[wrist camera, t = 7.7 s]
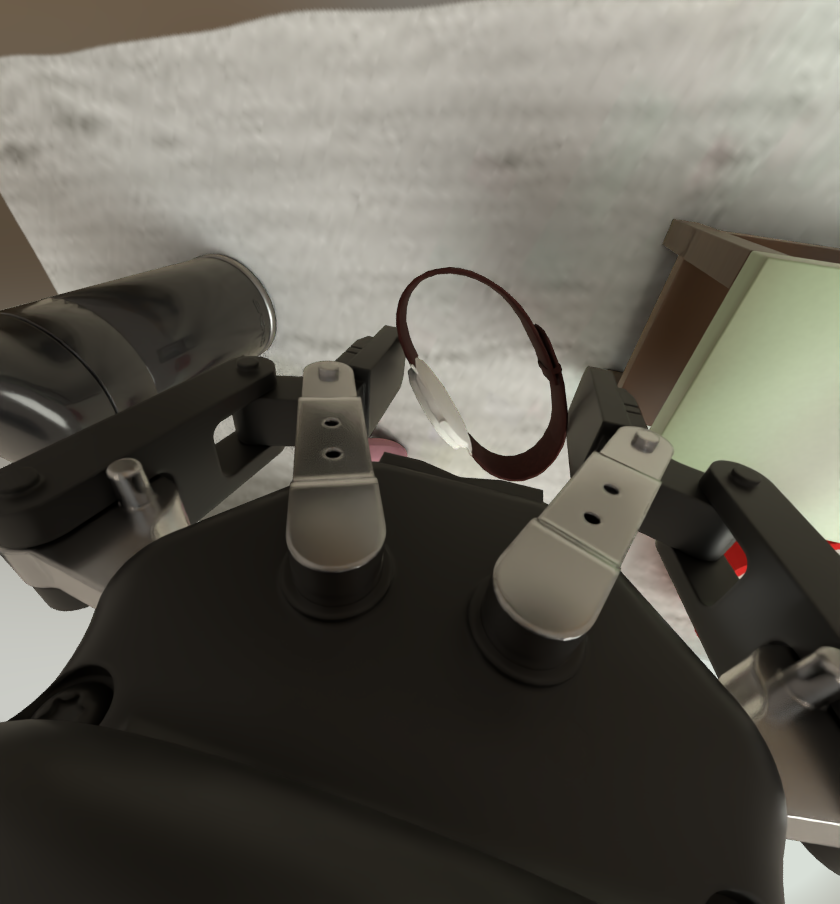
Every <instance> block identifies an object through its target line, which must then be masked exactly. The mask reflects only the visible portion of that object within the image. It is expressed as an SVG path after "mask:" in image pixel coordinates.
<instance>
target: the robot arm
mask: <svg viewBox="0 0 840 904" xmlns="http://www.w3.org/2000/svg"><path fill="white" fill-rule="evenodd" d="M275 332H276V318H275V313H274V309H273V306H272V303H271V300H270V298H269V296H268V294H267V292H266V290H265V289H264V287H263V286H262V284H261V283H260V282H259V280H258V279H257V278H256V277H255V276H254V275H253V274H252V273H251V272H250V271H249V270H248V269H247V268H246V267H244V266H243V265H242V264H240V263H239V262H237V261H235V260H233V259H231V258H229V257H226V256H223V255H218V254H207V255H203V256H199V257H196V258H194V259H192V260H189V261H185V262H181V263H178V264H173V265H169V266H166V267H162V268H158V269H154V270H150V271H147V272H143V273H139V274H135V275H131V276H128V277H124V278H120V279H116V280H112V281H109V282H105V283H101V284H97V285H94V286H90V287H86V288H82V289H78V290H75V291H71V292H67V293H63V294H59V295H56V296H52V297H49V298H44V299H41V300H38V301H34V302H30V303H27V304H23V305H19V306H15V307H11V308H7V309H4V310H0V457H1V458H4V459H6V460H8V461H10V462H12V463H11V464H9V465H8V466H5V467H3V468H1V469H0V555H1V556H2V557H3V558H4V559H5V561H6V562H7V563H8V564H9V565H10V566H11V567H12V568H13V570H14V571H15V572H16V573H17V574H18V575H19V576H20V577H21V579H22V580H23V581H24V582H25V583H26V584H28V585H30V586H32V587H33V588H34V589H35V590H36V592H37V593H38V594H39V595H40V596H41V597H42V598H43V600H44V601H45V602H46V603H47V604H48V605H49V606H50V607H51V608H53V609H56V610H59V611H73V610H79V609H82V608H86V607H88V606H91V607H92V608H95V611H94V614H93V617H92V619H91V622H90V624H89V627H88V629H87V631H86V633H85V635H84V637H83V639H82V641H81V642H80V644H79V646H78V647H77V649H76V651H75V653H74V654H73V656H72V658H71V659H70V660H69V662H68V663H67V665H66V666H65V668H64V669H63V670H62V672H61V673H60V675H59V676H58V677H57V678H56V680H55V681H54V682H53V683H52V684H51V686H49V687H48V689H47V690H46V691H44V692H43V693H42V694H41V695H40V696H39V697H38V698H37V699H36V700H35V701H34V702H32V703H31V704H30V705H29V706H27V707H26V708H25V709H24V710H22V711H21V712H20V713H18V714H17V715H16V716H14V717H13V718H11V719H9V720H8V721H6V722H1V723H0V904H785V901H784V888H783V855H784V849H785V841H786V839H789V840H796V841H800V842H801V843H802V844H803V845H804V846H805V847H806V849H807V850H808V851H809V852H810V853H811V854H812V855H813V856H814V857H815V858H816V859H817V860H819V861H820V862H821V863H822V864H824V865H825V866H826V867H827V868H828V869H830V870H831V871H833V872H834V873H836V874H838V875H840V555H839V554H838V553H837V552H836V551H835V550H834V548H833V547H832V546H831V545H830V544H829V543H828V542H827V541H826V540H825V539H824V538H823V537H822V536H821V534H820V533H819V532H818V531H817V530H816V529H815V528H814V527H813V526H812V525H811V524H810V523H809V522H808V520H807V519H806V518H805V517H804V516H803V515H802V514H801V513H800V512H799V511H798V510H797V509H796V508H795V506H794V505H793V504H792V503H791V502H790V501H789V500H788V499H787V498H786V497H785V496H784V495H783V494H782V492H781V491H780V490H779V489H778V488H777V487H776V486H775V485H774V484H773V483H772V482H771V481H770V480H769V479H768V478H766V477H765V476H764V475H762V474H761V473H759V472H757V471H755V470H754V469H752V468H750V467H747V466H745V465H742V464H739V463H736V462H732V461H726V460H718V461H714V462H713V463H712V464H711V465H710V466H709V468H708V469H707V470H706V472H702V471H699V470H697V469H694V468H692V467H689V466H687V465H684V464H682V463H679V462H677V461H675V460H673V459H672V456H673V454H674V448H673V446H672V444H671V443H670V442H669V441H668V440H667V439H665V438H664V437H662V436H661V435H659V434H657V433H655V432H653V431H651V430H648V429H647V427H646V424H645V422H644V419H643V417H642V415H641V412H640V410H639V408H638V405H637V402H636V400H635V398H634V397H633V396H632V395H631V394H630V393H629V392H628V391H627V390H626V389H623V388H618V385H617V382H616V380H615V377H614V374H613V372H612V371H610V370H605V369H600V368H595V367H590V366H588V367H587V368H586V369H585V371H584V373H583V376H582V378H581V381H580V383H579V386H578V388H577V391H576V393H575V396H574V398H573V400H572V403H571V405H570V408H569V411H568V424H567V431H566V437H567V447H568V457H569V467H570V477H571V479H570V480H569V481H568V483H567V484H566V485H565V486H564V487H563V488H562V490H561V491H560V492H559V493H558V494H557V496H556V497H555V498H554V499H553V500H552V502H551V503H550V504H549V505H548V504H546V503H544V502H543V490H540V489H536V488H532V487H528V486H524V485H519V484H515V483H511V482H507V481H503V480H491V479H477V478H464V477H458V476H456V475H453V474H451V473H449V472H447V471H444V470H442V469H440V468H437V467H435V466H433V465H431V464H428V463H426V462H424V461H421V460H417V459H413V458H409V457H405V456H401V455H396V454H392V453H388V452H384V453H383V455H382V457H381V459H380V461H372V460H371V454H370V448H369V442H368V438H369V436H370V435H371V433H372V432H373V430H374V429H375V427H376V425H377V424H378V422H379V421H380V419H381V418H382V416H383V414H384V413H385V411H386V410H387V408H388V406H389V405H390V403H391V402H392V400H393V399H394V397H395V395H396V394H397V392H398V391H399V389H400V387H401V384H402V380H403V375H404V366H405V355H404V352H403V350H402V347H401V345H400V342H399V339H398V333H397V327H392V326H387V325H385V326H384V327H383V328H382V329H381V330H380V331H379V332H378V333H377V334H376V335H375V336H374V337H371V336H367V337H364V338H361V339H359V340H357V341H356V342H355V343H353V344H352V345H351V347H349V348H348V349H347V350H346V352H344V353H343V354H342V355H341V356H340V357H339V358H338V359H336V360H335V361H319V362H315V363H312V364H309V365H308V366H306V367H305V368H304V371H303V376H301V377H298V376H276V370H275V364H274V363H273V362H272V361H271V360H269V359H267V358H263V357H258V356H259V355H261V354H262V353H264V352H265V351H266V350H267V349H268V348H269V347H270V345H271V344H272V342H273V340H274V337H275ZM231 415H232V416H233V420H234V425H235V429H236V431H234V432H233V433H232V434H230V435H229V436H227V437H226V438H224V439H223V440H221V441H220V442H218V443H217V444H215V443H214V439H213V435H214V431H215V428H216V427H217V425H218V424H219V423H220V422H221V421H223V420H224V419H226V418H228V417H229V416H231ZM285 446H295V454H294V468H293V480H292V482H291V483H290V486H288V487H285V488H283V489H280V490H278V491H275V492H273V493H270V494H268V495H265V496H263V497H260V498H257V499H255V500H252V501H250V502H247V503H245V504H242V505H240V506H237V507H235V508H232V509H230V510H227V511H225V512H222V513H220V514H217V515H215V516H212V517H210V518H207V519H205V520H202V521H200V522H198V521H199V520H200V519H201V518H203V517H204V516H205V515H206V514H207V513H209V512H210V511H211V510H212V509H213V508H215V507H216V506H217V505H218V504H219V503H221V502H222V501H223V500H224V499H225V498H227V497H228V496H229V495H230V494H231V493H233V492H234V491H235V490H236V489H237V488H239V487H240V486H241V485H242V484H243V483H245V482H246V481H247V480H248V479H249V478H251V477H252V476H253V475H254V474H256V473H257V472H258V471H259V470H260V469H262V468H263V467H264V466H265V465H266V464H268V463H269V462H270V461H271V460H272V459H274V458H275V457H276V456H277V455H278V454H280V453H281V452H282V451H283V449H284V447H285ZM638 531H639V532H641V533H643V534H645V535H647V536H649V537H651V538H654V539H656V541H655V544H656V548H657V550H658V552H659V555H660V557H661V559H662V561H663V563H664V565H665V567H666V569H667V571H668V574H669V576H670V578H671V580H672V582H673V584H674V586H675V588H676V590H677V593H678V595H679V597H680V599H681V601H682V603H683V605H684V607H685V609H686V611H687V614H688V616H689V618H690V620H691V622H692V624H693V626H694V628H695V630H696V633H697V635H698V637H699V639H700V641H701V643H702V645H703V647H704V649H705V652H706V654H707V656H708V658H709V660H710V662H711V664H712V666H713V668H714V670H715V672H716V675H717V677H718V679H717V678H716V677H715V675H713V673H712V672H711V671H710V670H709V669H708V668H707V667H706V665H705V664H704V663H703V662H702V661H701V660H700V659H699V658H698V657H697V655H696V654H695V653H694V652H693V651H692V650H691V649H690V648H689V647H688V645H687V644H686V643H685V642H684V641H683V640H682V639H681V638H680V637H679V635H678V634H677V633H676V632H675V631H674V630H673V629H672V628H671V627H670V625H669V624H668V623H667V622H666V621H665V620H664V619H663V618H662V617H661V615H660V614H659V613H658V612H657V611H656V610H655V609H654V608H653V607H652V605H651V604H650V603H649V602H648V601H647V600H646V599H645V598H644V597H643V595H642V594H641V593H640V592H639V591H638V590H637V589H636V588H635V586H634V585H633V584H632V583H631V582H630V581H629V580H628V579H627V578H626V576H625V575H624V574H623V573H622V572H621V571H620V570H621V568H620V567H621V564H622V562H623V560H624V558H625V556H626V554H627V552H628V550H629V548H630V546H631V544H632V542H633V540H634V538H635V536H636V534H637V532H638ZM736 541H737V542H738V544H739V545H740V547H741V548H742V550H743V551H744V553H745V555H746V558H747V569H746V572H745V574H744V575H743V576H742V577H741V578H740V579H739V578H738V576H737V575H736V573H735V571H734V570H733V568H732V567H731V565H730V564H729V562H728V560H727V559H726V557H725V556H724V554H725V553H726V551H727V550H728V549H729V548H730V547H731V546H732V545H733V544H734V543H735V542H736Z"/></svg>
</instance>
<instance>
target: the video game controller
mask: <svg viewBox="0 0 840 904" xmlns="http://www.w3.org/2000/svg"><path fill="white" fill-rule="evenodd" d="M368 442H369V448H370V454H371V460H372V461H380V459H381V457H382V455H383V453H384V452H388V453H392V454H396V455H401V456H405V457H407V452H406V450H405V448H404V447H402V446H401V445H400V444H398V443H396V442H394V441H391V440H388V439H382V438H368Z"/></svg>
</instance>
